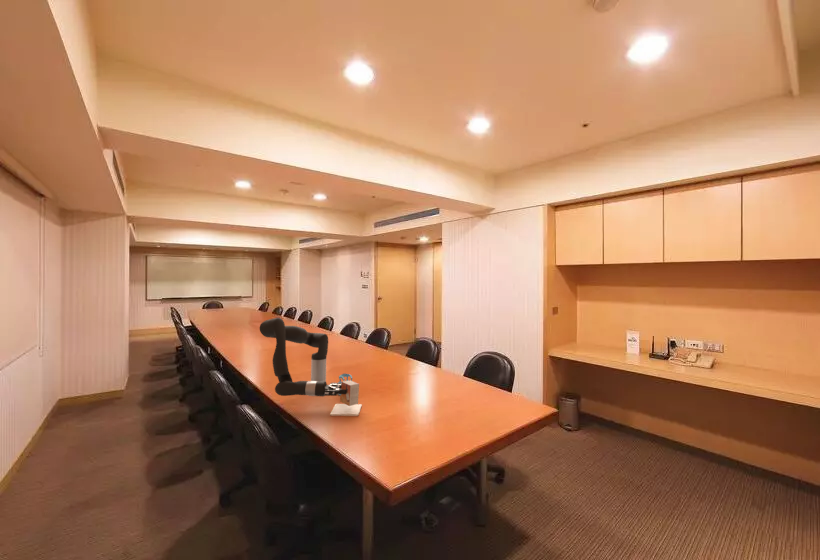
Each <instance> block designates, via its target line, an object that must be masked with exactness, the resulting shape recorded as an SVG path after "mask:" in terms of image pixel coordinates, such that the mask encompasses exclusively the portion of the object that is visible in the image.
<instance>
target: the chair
mask: <svg viewBox="0 0 820 560" xmlns="http://www.w3.org/2000/svg"><path fill="white" fill-rule="evenodd" d="M349 377H350V380H351V381H353V375H352V374H350V373H342V374H340V375H339V376H338V379H339V381H338V382H337V383H342V382H343V381H348V380H349ZM345 378H346V380H345ZM338 396H341V394H339V395H338Z"/></svg>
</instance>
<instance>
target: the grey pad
mask: <svg viewBox="0 0 820 560" xmlns="http://www.w3.org/2000/svg"><path fill="white" fill-rule="evenodd" d="M362 406H363V404H362V403H358V404H355V405H352V406H348V405H346V404H344V403H335V405H334V406H333V408H332V410H331V411H330V413H329V416H333V417H336V416H339V417H341V416H343V417H344V416H345V417H358V416H359V415H360V412H361V409H362Z"/></svg>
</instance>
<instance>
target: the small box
mask: <svg viewBox="0 0 820 560" xmlns="http://www.w3.org/2000/svg"><path fill="white" fill-rule="evenodd" d="M341 382H342V385H341V389H346V390H347V393H346V394H341V395H340V403H341V404H346V405H348V406H352V405H355V404H359V396H360V395H359V392H360V383H357V382H356V381H353V380H352V381H351V379H350V380H349V379H348V381H346V380H345V381H343V380H342V381H341Z"/></svg>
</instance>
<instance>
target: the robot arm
mask: <svg viewBox="0 0 820 560" xmlns="http://www.w3.org/2000/svg"><path fill="white" fill-rule="evenodd" d="M259 332H260V334H261V335H262V336H264V337H265V338H272V339H273V338H274V339H275V340H276V341H275V342H276V343H275V349H274V352H273V356H272V367H273V373H274V376H275V377H277V379H278V382H277V383H276V385H275V386H274V391H275V393H276V394H277V396H281V397H288V396H297V395H298V396H308V397H325V396H327V397H329V396H331V397H332V396H333V397H335V396H340V395H339V394H346V393H347V390H346V389H341V385H342V383H338V382H330V384H328V383H327V356H328V350H329V337H328V334H326V333H323V332H322V333H321V332H310V331H309V332H308V330H306V329H305V328H304V327H302V326H301V327H300V326H297V325H285V321H284V320H283V319H282V318H281V317H275V318H274V317H273V318H270V319H266V320H264V321H263V322H261V323H260V324H259ZM286 341H288V342H291V343H295V344H300V345H301V344H302V345H303V344H305V345H307V346H310V347H311V348H317V352H314V353H312V354H311V356H310V357H311V361H310V362H311V365H310V366H311V367H310V368H311V369H310V380H298V381H293V378H292V376H291V373H290V371H289V366H288V365H289V364H288V360H287V350H286V348H287V347H286V345H287V344H286V343H287V342H286Z"/></svg>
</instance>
